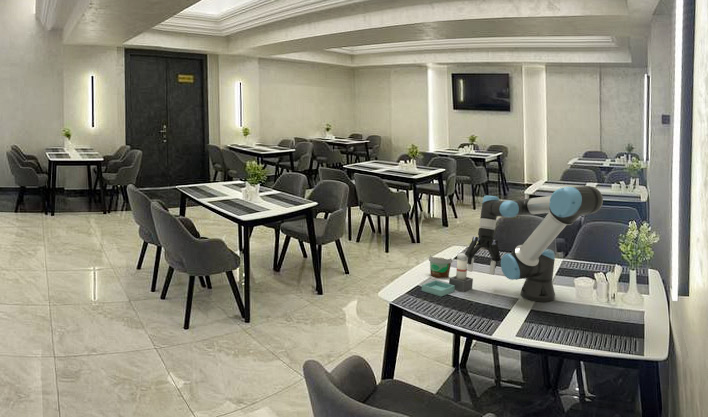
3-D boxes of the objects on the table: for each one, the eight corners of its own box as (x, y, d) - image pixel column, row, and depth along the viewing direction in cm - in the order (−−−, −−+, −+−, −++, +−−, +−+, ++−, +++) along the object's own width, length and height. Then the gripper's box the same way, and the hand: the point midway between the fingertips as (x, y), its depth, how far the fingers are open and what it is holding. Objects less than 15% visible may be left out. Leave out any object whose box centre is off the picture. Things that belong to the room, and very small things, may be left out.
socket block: (472, 288, 280) (472, 278, 279) (463, 292, 274) (463, 282, 274) (457, 284, 286) (458, 274, 285) (448, 288, 280) (449, 278, 279)
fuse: (468, 284, 280) (470, 254, 277) (462, 286, 276) (464, 256, 273) (459, 282, 283) (461, 252, 280) (453, 284, 279) (455, 253, 277)
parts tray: (454, 291, 275) (454, 285, 275) (441, 296, 267) (441, 290, 267) (435, 285, 283) (435, 280, 282) (421, 290, 275) (421, 285, 274)
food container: (424, 276, 297) (425, 257, 295) (428, 273, 303) (429, 254, 301) (447, 280, 292) (448, 261, 290) (451, 277, 297) (452, 258, 295)
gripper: (501, 231, 286) (495, 274, 285) (461, 224, 274) (455, 269, 273) (512, 232, 279) (506, 276, 278) (471, 225, 267) (465, 271, 266)
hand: (480, 273), depth 275 cm, fingers open, 13 cm apart
